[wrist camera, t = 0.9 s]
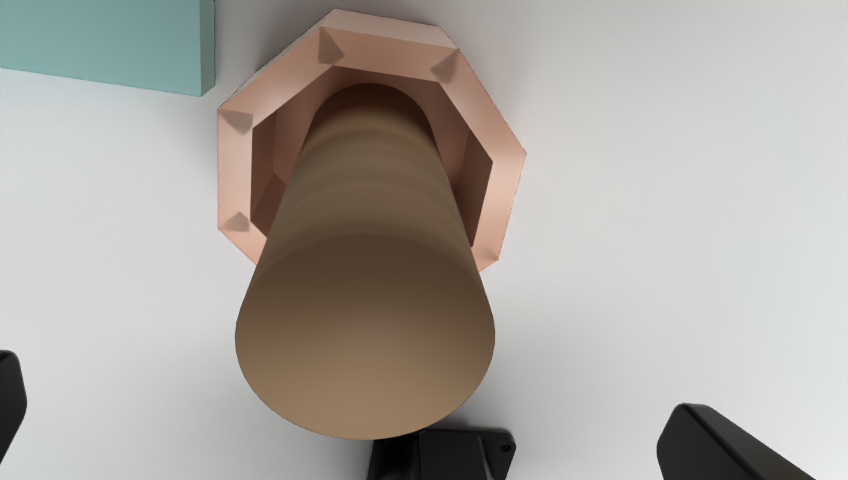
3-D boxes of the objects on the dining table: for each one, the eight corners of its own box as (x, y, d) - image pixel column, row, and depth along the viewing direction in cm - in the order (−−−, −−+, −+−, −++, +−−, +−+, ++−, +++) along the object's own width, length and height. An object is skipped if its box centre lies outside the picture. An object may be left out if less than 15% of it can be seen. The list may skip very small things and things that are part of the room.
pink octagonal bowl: (460, 251, 20) (481, 324, 16) (250, 228, 19) (217, 300, 15) (509, 38, 17) (550, 63, 13) (256, -6, 16) (216, 7, 12)
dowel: (422, 210, 18) (466, 445, 10) (303, 196, 18) (233, 432, 9) (444, 93, 17) (523, 250, 8) (312, 73, 16) (236, 217, 7)
